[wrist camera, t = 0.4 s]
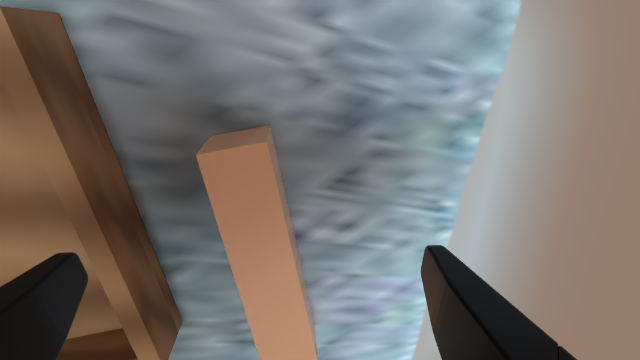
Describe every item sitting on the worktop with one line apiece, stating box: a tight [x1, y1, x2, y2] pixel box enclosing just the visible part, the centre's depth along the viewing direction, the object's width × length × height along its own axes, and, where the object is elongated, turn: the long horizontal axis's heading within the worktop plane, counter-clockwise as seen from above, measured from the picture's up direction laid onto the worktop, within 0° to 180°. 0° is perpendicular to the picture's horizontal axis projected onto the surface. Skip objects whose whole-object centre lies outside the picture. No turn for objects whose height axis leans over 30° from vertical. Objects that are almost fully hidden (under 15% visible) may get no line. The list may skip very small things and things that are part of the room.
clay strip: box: [196, 125, 318, 360], centre depth 22 cm, size 15×4×4 cm, turn 10°
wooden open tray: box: [0, 6, 182, 360], centre depth 20 cm, size 20×11×4 cm, turn 10°
